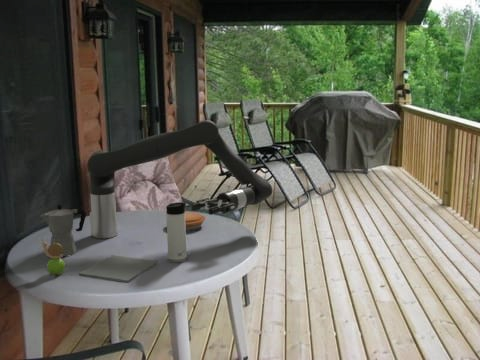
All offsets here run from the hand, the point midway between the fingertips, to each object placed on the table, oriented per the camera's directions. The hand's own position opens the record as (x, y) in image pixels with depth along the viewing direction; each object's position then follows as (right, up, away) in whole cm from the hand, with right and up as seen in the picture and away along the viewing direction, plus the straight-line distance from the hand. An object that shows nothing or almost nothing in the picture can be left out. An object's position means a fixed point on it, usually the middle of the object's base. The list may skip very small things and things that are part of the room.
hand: (200, 209), depth 190 cm
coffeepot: (-48, -16, +3) cm, 51 cm away
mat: (-26, -19, -13) cm, 34 cm away
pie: (-8, -9, +33) cm, 35 cm away
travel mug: (-7, -17, -5) cm, 19 cm away
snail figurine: (-45, -20, -17) cm, 52 cm away
